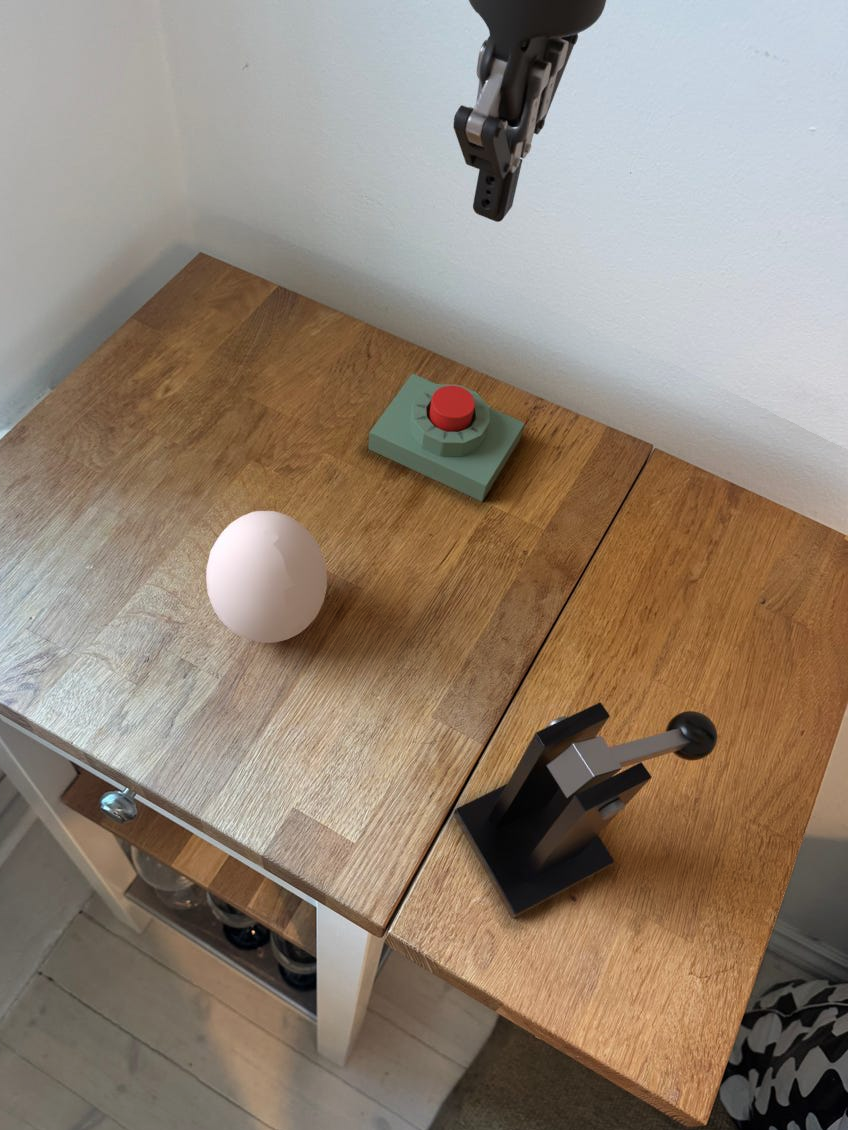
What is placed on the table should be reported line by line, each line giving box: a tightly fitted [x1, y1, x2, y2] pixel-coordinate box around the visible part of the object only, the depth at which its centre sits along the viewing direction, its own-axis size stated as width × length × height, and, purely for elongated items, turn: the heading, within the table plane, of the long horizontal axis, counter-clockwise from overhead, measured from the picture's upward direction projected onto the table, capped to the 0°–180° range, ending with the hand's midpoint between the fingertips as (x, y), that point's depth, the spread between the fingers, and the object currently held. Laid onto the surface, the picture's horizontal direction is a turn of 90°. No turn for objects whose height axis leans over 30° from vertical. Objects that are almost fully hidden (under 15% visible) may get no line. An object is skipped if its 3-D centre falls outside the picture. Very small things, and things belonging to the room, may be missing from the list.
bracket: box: [452, 701, 652, 919], centre depth 57 cm, size 8×8×16 cm
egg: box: [205, 510, 328, 644], centre depth 66 cm, size 9×9×11 cm
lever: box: [547, 710, 718, 798], centre depth 56 cm, size 15×3×3 cm
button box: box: [367, 373, 526, 503], centre depth 79 cm, size 8×11×4 cm
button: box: [429, 384, 475, 432], centre depth 77 cm, size 4×4×2 cm
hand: (491, 211), depth 61 cm, fingers closed
